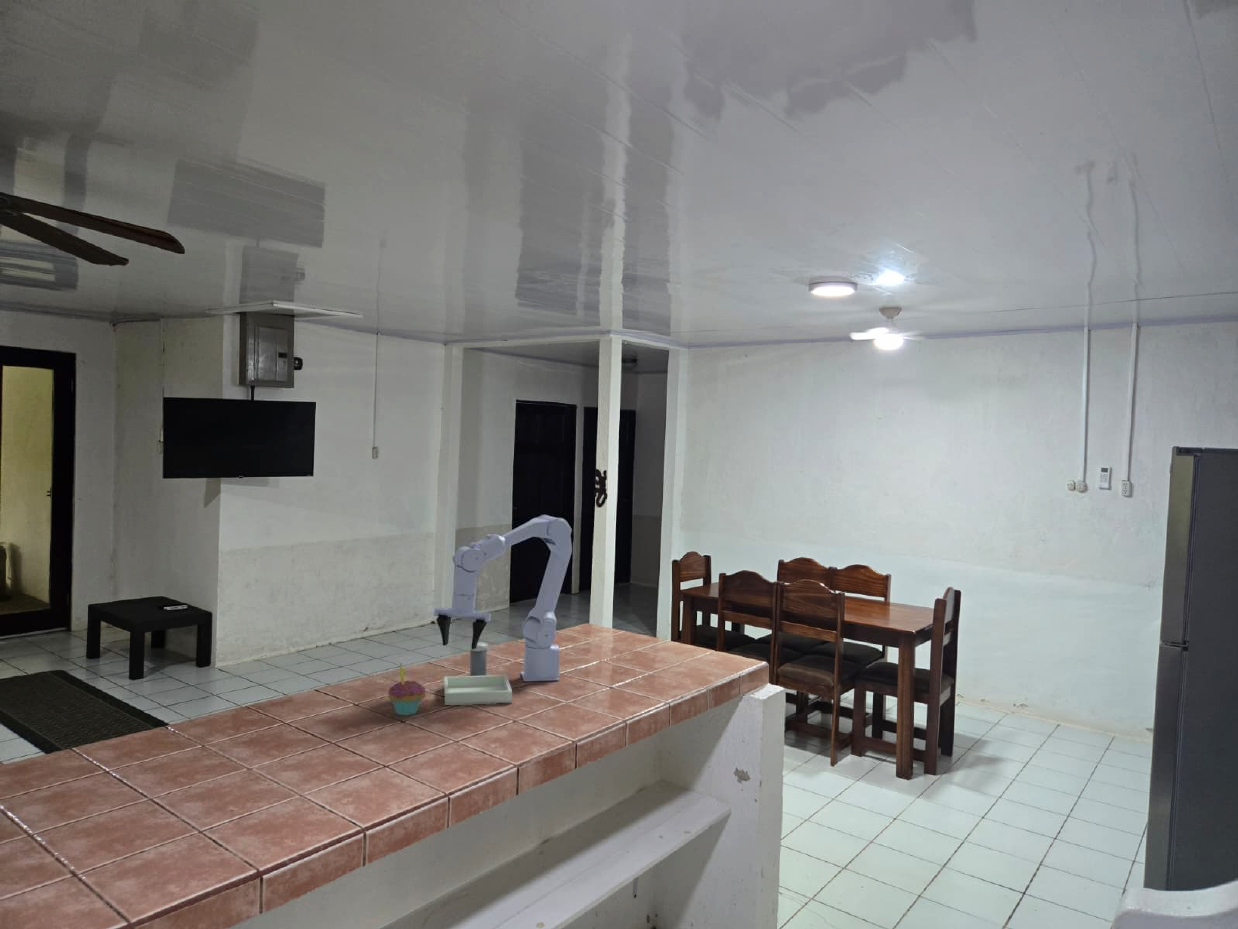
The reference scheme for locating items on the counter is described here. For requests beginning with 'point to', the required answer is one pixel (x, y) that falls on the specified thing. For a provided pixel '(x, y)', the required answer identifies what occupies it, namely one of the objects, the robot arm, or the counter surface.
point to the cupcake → (406, 695)
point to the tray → (477, 690)
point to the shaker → (478, 659)
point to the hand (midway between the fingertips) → (459, 646)
